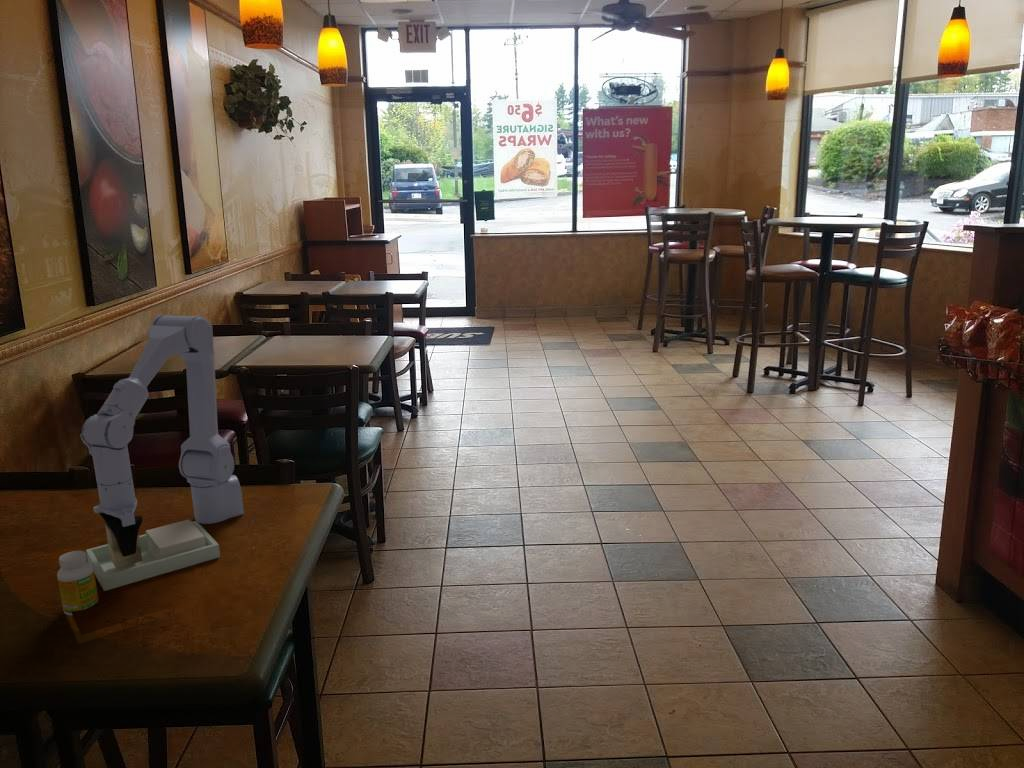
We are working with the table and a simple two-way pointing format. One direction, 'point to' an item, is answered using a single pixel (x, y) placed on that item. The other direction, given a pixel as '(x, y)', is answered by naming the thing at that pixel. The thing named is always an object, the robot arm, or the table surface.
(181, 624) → the table surface
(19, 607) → the table surface
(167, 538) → the light gray block
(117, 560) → the maple block
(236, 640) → the table surface
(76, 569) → the supplement bottle
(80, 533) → the table surface
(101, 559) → the pale green tray
